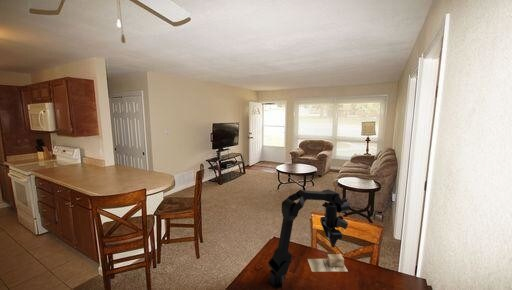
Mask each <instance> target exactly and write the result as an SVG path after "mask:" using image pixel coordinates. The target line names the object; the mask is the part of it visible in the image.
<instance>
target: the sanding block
mask: <svg viewBox="0 0 512 290" xmlns="http://www.w3.org/2000/svg"><path fill="white" fill-rule="evenodd" d="M327 259H328V264H329V266H330V267H344V265H345V258H344V257H343V255H342V254H341V253H332V254H331V253H330V254H329V253H328V254H327Z"/></svg>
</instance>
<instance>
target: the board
mask: <svg viewBox="0 0 512 290" xmlns="http://www.w3.org/2000/svg"><path fill="white" fill-rule="evenodd" d="M307 261H308V265H309V267H310V269H311V273H312V272H313V273H319V272H328V273H329V272H339V273H341V272H349V271H348V269H347V267H346V265H345V264H344V267H330V266H329V264H328V258H307Z"/></svg>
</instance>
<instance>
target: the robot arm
mask: <svg viewBox="0 0 512 290" xmlns="http://www.w3.org/2000/svg"><path fill="white" fill-rule="evenodd" d="M297 200H298V201H297ZM308 200H309V201H310V200H311V201H325V202H323V204H322V205H321V206H322V207H324V208H325V209H324V212H325V213H324V214H323V215H324V216H321V217H320V224H321V227H322V229H323V232H324V234H325V238H328V240H329V243H330V246H331V248H335V246H336V244H337V242H338V240H342V239H343V237H344V235H343V233H342V231H341V230H340V229H339V228H341V229H343V230H347V228H348V226H349V223H348V221H346V219H344V217H343V216H342V215H338V214H340V213H345V212H349V210H350V209H351V206H350V204H349V202H348V199H347V198H345V197H344V198H341V196H340V194H339V192H336V191H334V190H332V189H329V188H328V189H323V190H321V191H319V190H317V191H316V190H304V189H298V191H296V192H295V193H293V194H291V195H289V196H288V197H287V198H285V199H284V200H282V203H281V215H282V223H281V227H280V228H281V229H280V235H279V239H278V246H277V248H275V249H274V252H273V254H272V256H271V259H270V260H269V261H268V262H267V265H268V266H269V268H270V269H271V270H270V271H269V272H270V273H269V274H270V275H269V277H270V278H268V283H270V284H271V286H273V287H274V289H276V290H277V289H280V288H282V287H283V283H284V281H285V279H286V275H287V273H288V270H289V267H290V264H292V257H293V254H292V253H291V252H290V251H289V248H290V241H291V237H292V236H291V235H292V231H293V225H294V221H295V220H296V218H297V217H298V215H299V211H301V209H302V208H304V206H305V202H306V201H308ZM295 201H297V202H295Z"/></svg>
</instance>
